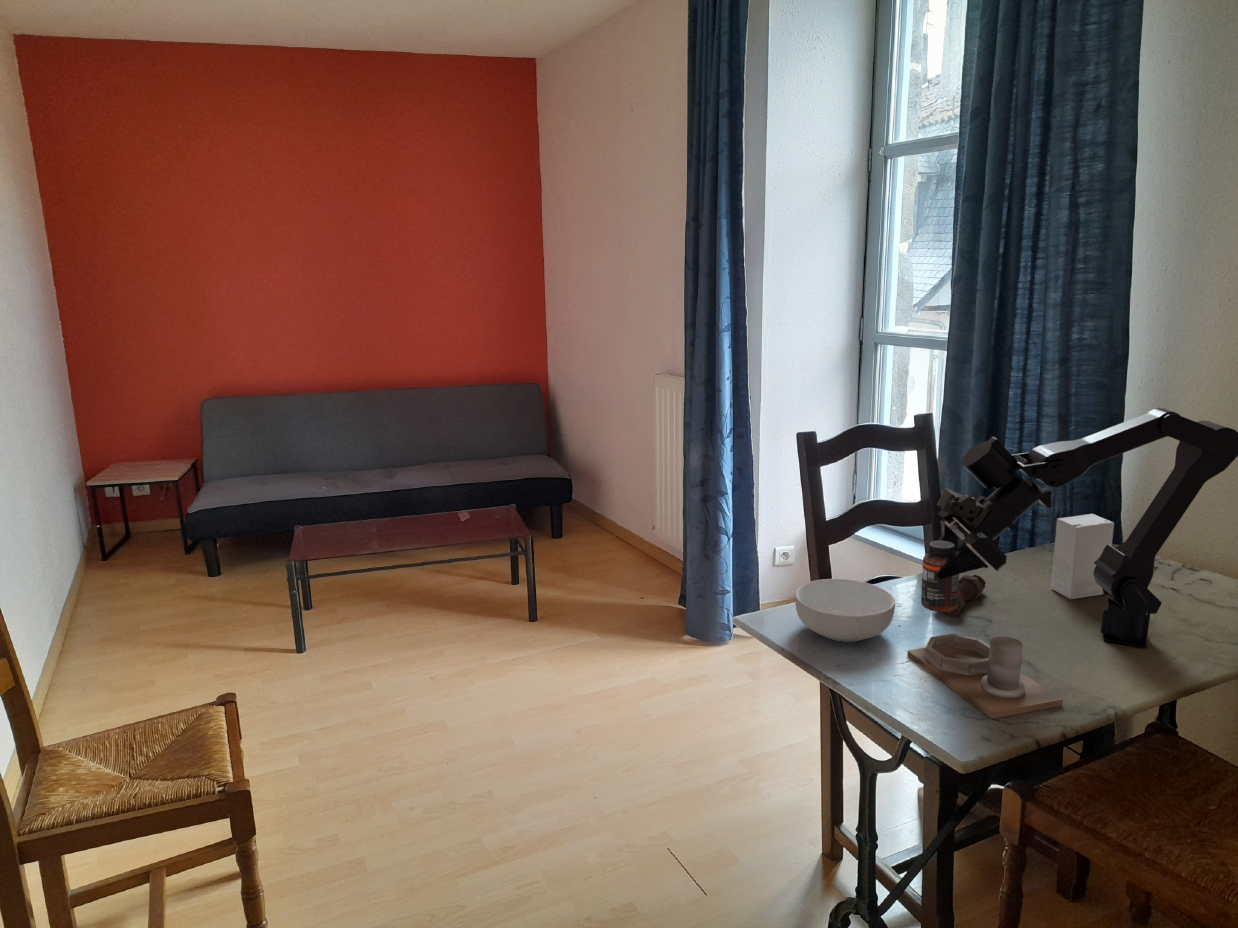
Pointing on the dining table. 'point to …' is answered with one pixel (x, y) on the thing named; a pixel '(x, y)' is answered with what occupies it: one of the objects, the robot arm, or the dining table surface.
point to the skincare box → (1079, 554)
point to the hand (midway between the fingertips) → (932, 570)
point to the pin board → (985, 673)
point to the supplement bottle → (935, 590)
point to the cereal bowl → (844, 608)
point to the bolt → (967, 591)
